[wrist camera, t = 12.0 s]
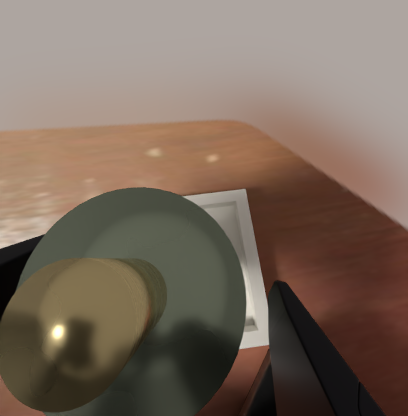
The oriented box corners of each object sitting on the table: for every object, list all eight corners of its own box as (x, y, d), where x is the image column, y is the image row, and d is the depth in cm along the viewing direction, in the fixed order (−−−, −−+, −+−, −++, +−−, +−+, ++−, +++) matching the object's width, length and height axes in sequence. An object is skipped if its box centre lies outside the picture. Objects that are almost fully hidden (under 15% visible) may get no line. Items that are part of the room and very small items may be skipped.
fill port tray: (265, 332, 16) (275, 343, 14) (120, 353, 16) (108, 367, 14) (241, 196, 19) (245, 188, 17) (118, 211, 19) (108, 205, 17)
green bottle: (194, 313, 16) (86, 866, 1) (145, 278, 17) (-265, 406, 2) (226, 259, 17) (351, 261, 2) (178, 228, 18) (57, 87, 3)
